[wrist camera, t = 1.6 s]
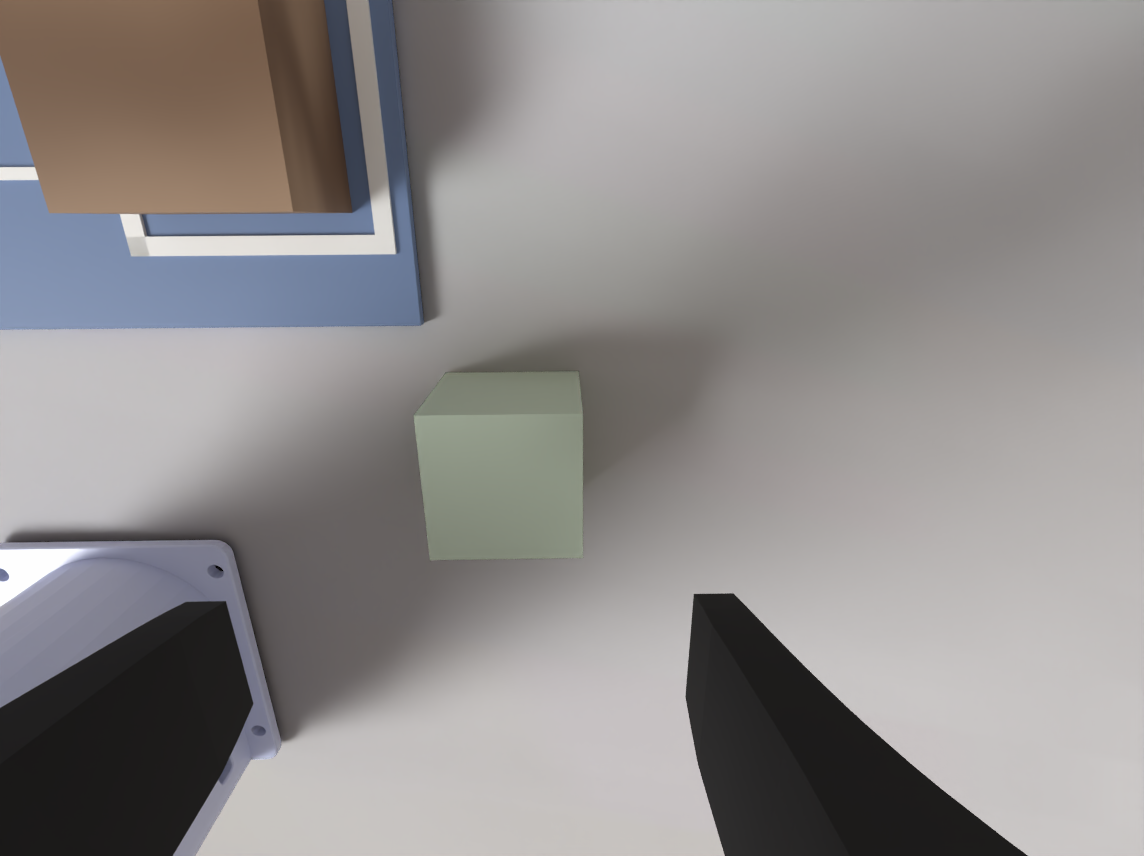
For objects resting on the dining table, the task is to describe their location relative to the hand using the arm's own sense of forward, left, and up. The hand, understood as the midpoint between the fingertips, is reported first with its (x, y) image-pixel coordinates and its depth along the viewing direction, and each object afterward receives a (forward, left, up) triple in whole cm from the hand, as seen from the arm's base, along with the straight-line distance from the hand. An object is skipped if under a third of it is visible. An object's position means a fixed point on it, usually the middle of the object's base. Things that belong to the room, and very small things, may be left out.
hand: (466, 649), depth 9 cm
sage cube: (0, 0, -10) cm, 10 cm away
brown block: (+9, +7, -9) cm, 14 cm away
